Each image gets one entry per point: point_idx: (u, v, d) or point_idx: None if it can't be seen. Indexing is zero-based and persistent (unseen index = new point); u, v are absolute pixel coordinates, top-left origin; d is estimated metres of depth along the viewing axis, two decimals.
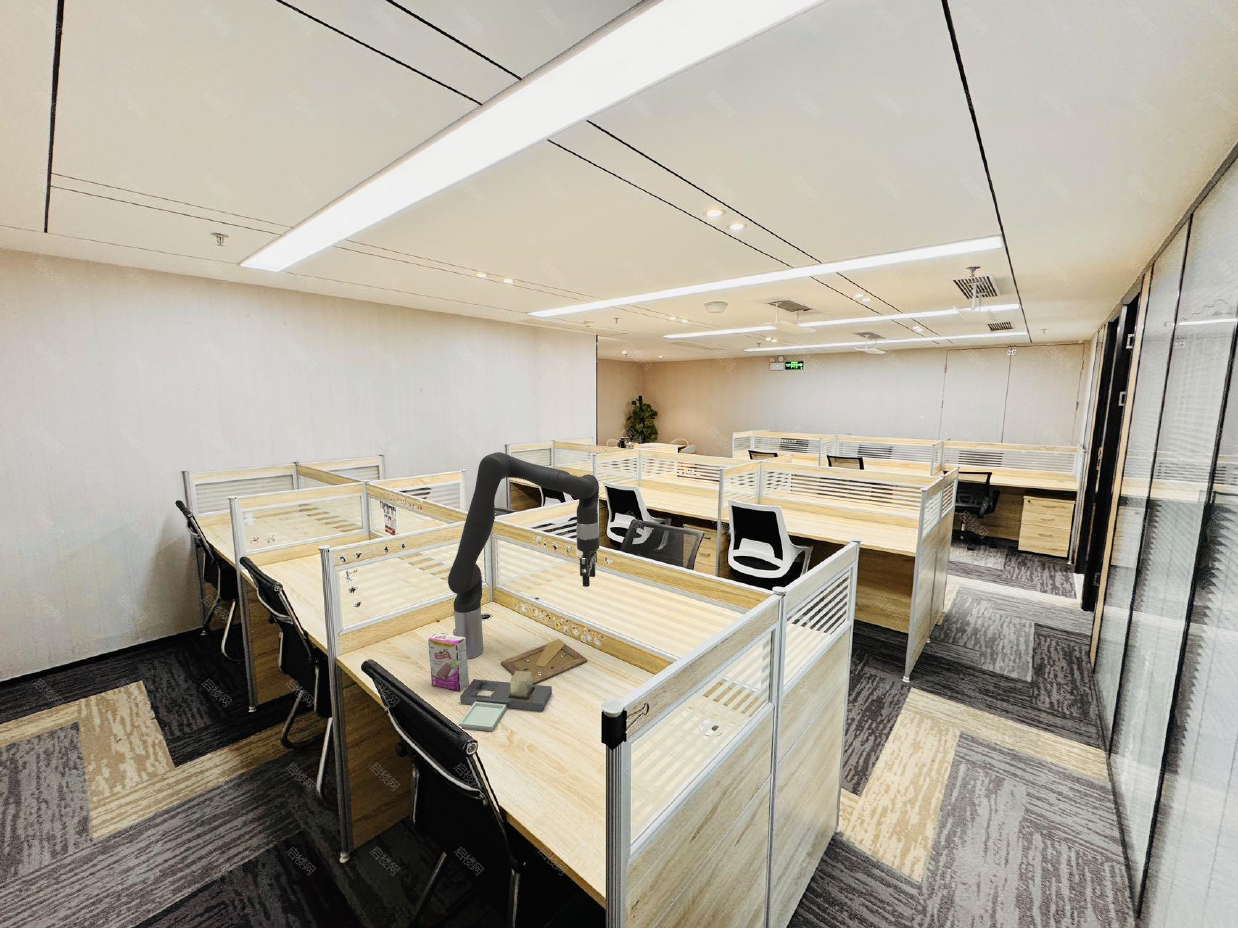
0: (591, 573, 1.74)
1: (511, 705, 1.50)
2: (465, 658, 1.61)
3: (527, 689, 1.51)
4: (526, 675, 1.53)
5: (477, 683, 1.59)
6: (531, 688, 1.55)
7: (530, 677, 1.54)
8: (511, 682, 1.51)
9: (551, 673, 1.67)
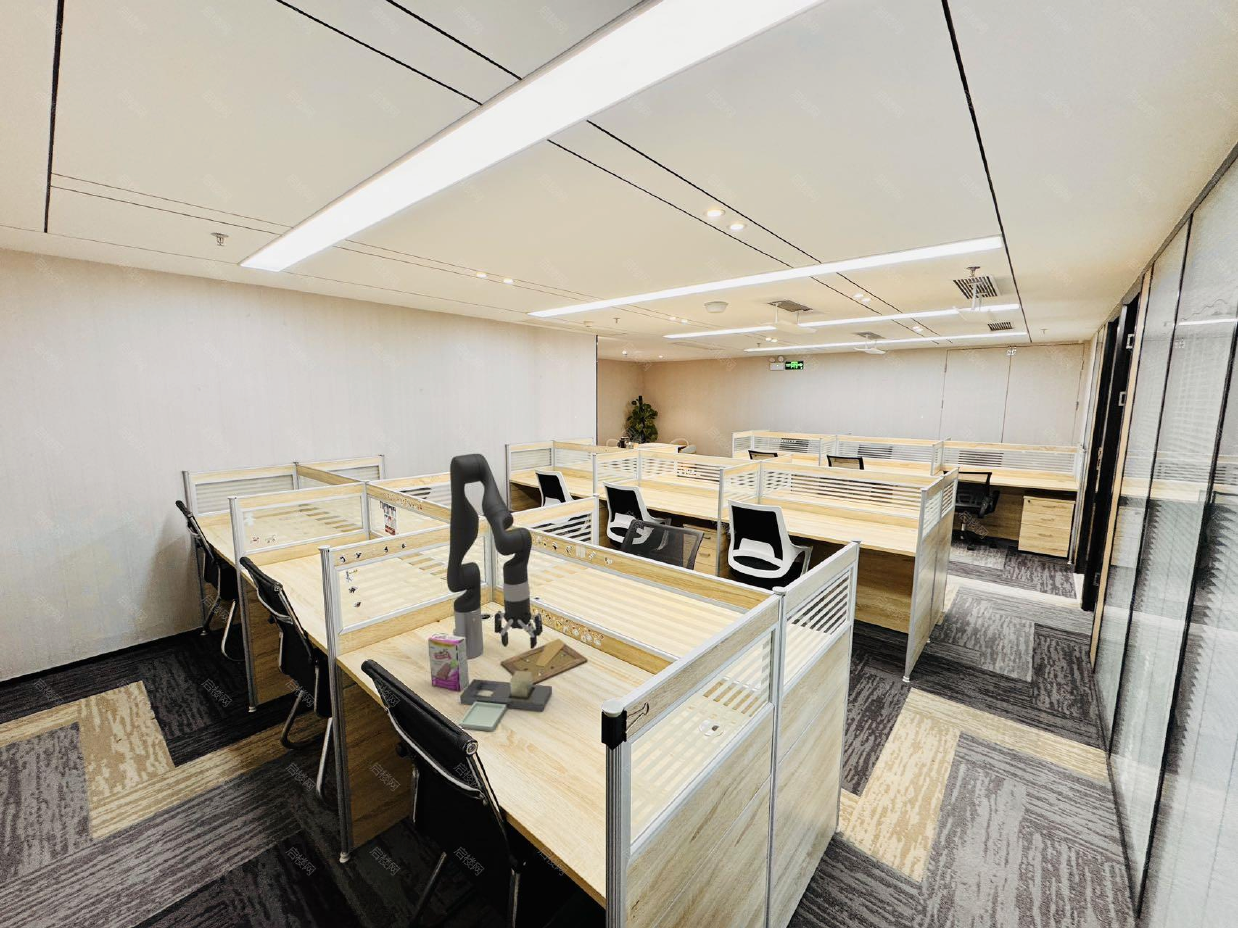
0: (506, 641, 1.52)
1: (511, 705, 1.50)
2: (465, 658, 1.61)
3: (527, 689, 1.51)
4: (526, 675, 1.53)
5: (477, 683, 1.59)
6: (531, 688, 1.55)
7: (530, 677, 1.54)
8: (511, 682, 1.51)
9: (551, 673, 1.67)
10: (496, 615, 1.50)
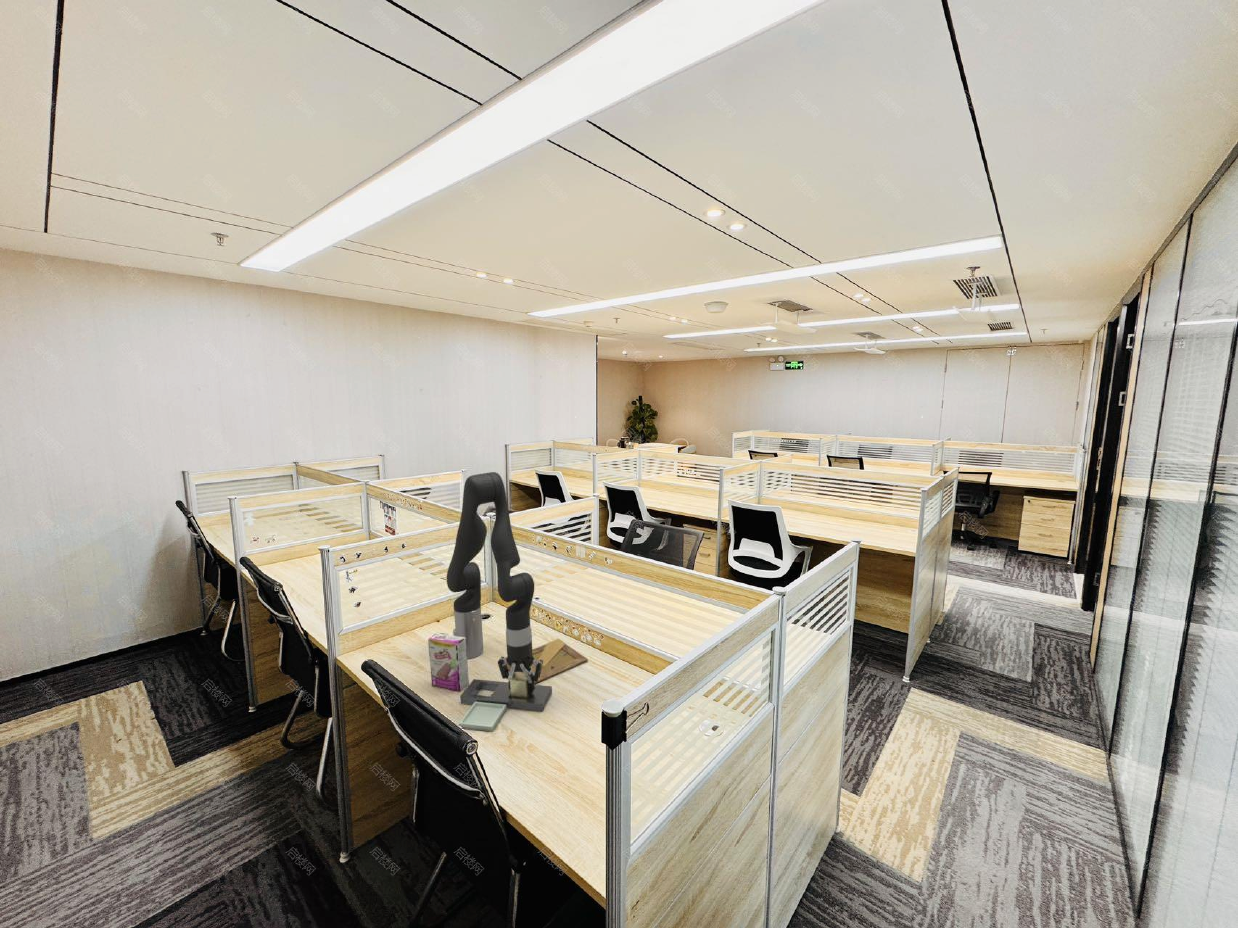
0: None
1: (511, 705, 1.50)
2: (465, 658, 1.61)
3: (526, 689, 1.51)
4: None
5: (477, 683, 1.59)
6: None
7: None
8: (511, 682, 1.51)
9: (551, 673, 1.67)
10: (499, 661, 1.53)
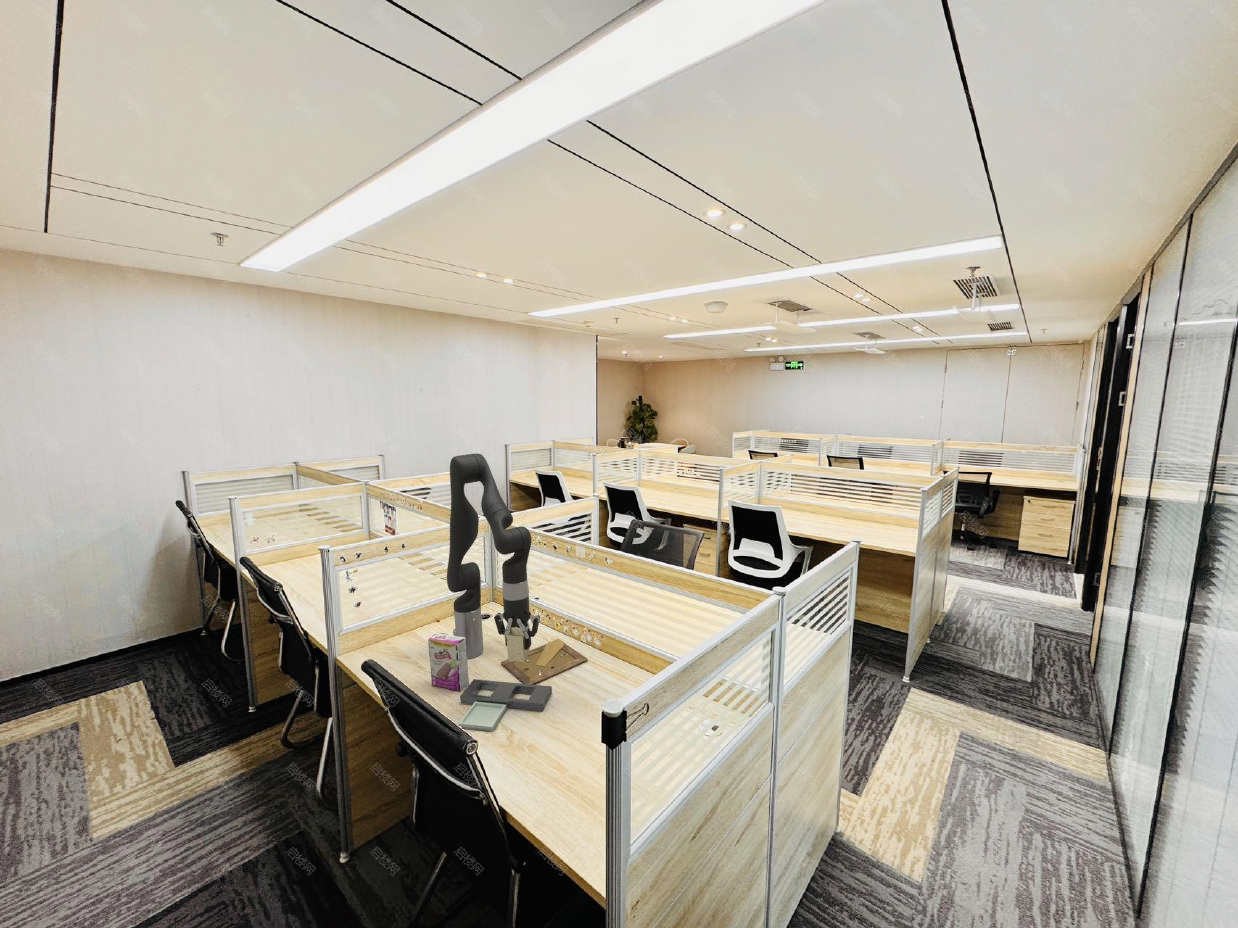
0: None
1: (511, 705, 1.50)
2: (465, 658, 1.61)
3: (523, 645, 1.49)
4: None
5: (477, 683, 1.59)
6: None
7: None
8: (508, 637, 1.49)
9: (552, 673, 1.67)
10: (495, 617, 1.50)
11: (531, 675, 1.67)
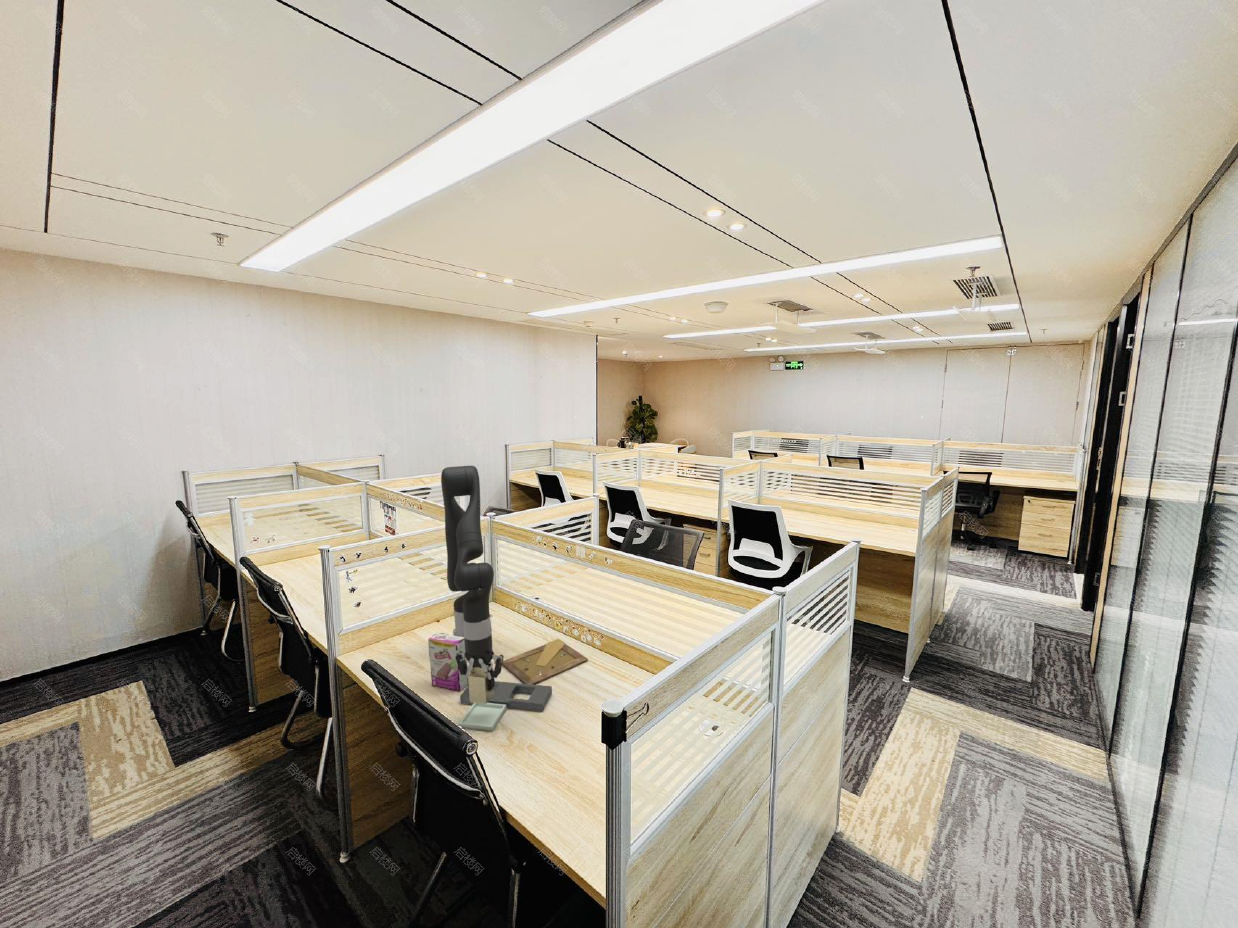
0: None
1: (511, 705, 1.50)
2: (465, 658, 1.61)
3: (486, 686, 1.42)
4: None
5: None
6: None
7: None
8: (469, 678, 1.42)
9: (552, 673, 1.67)
10: (457, 656, 1.43)
11: (531, 675, 1.67)
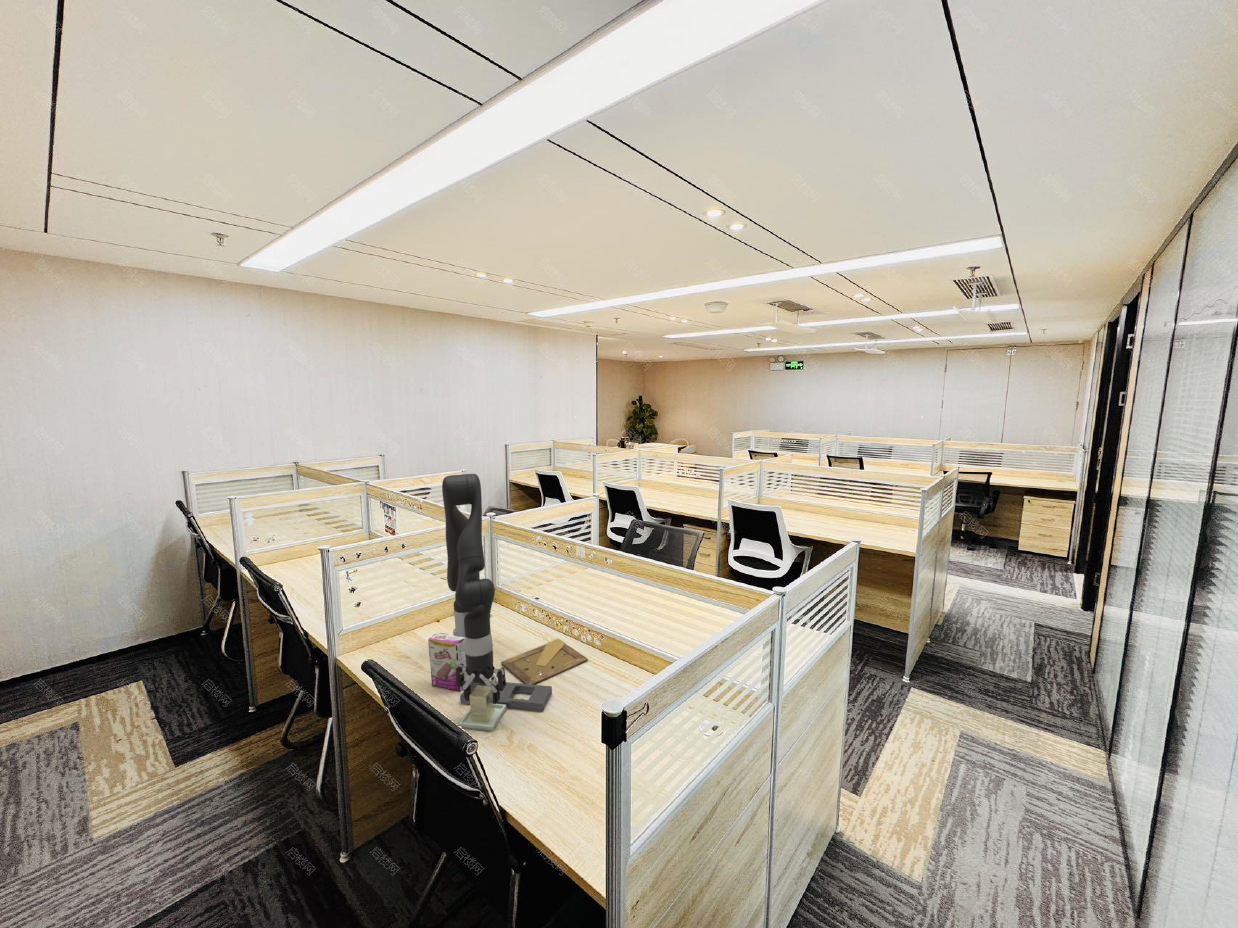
0: None
1: (511, 705, 1.50)
2: (465, 658, 1.61)
3: (487, 705, 1.43)
4: (487, 690, 1.45)
5: (477, 683, 1.59)
6: None
7: (491, 692, 1.46)
8: (470, 698, 1.43)
9: (552, 673, 1.67)
10: (457, 669, 1.44)
11: (531, 675, 1.67)
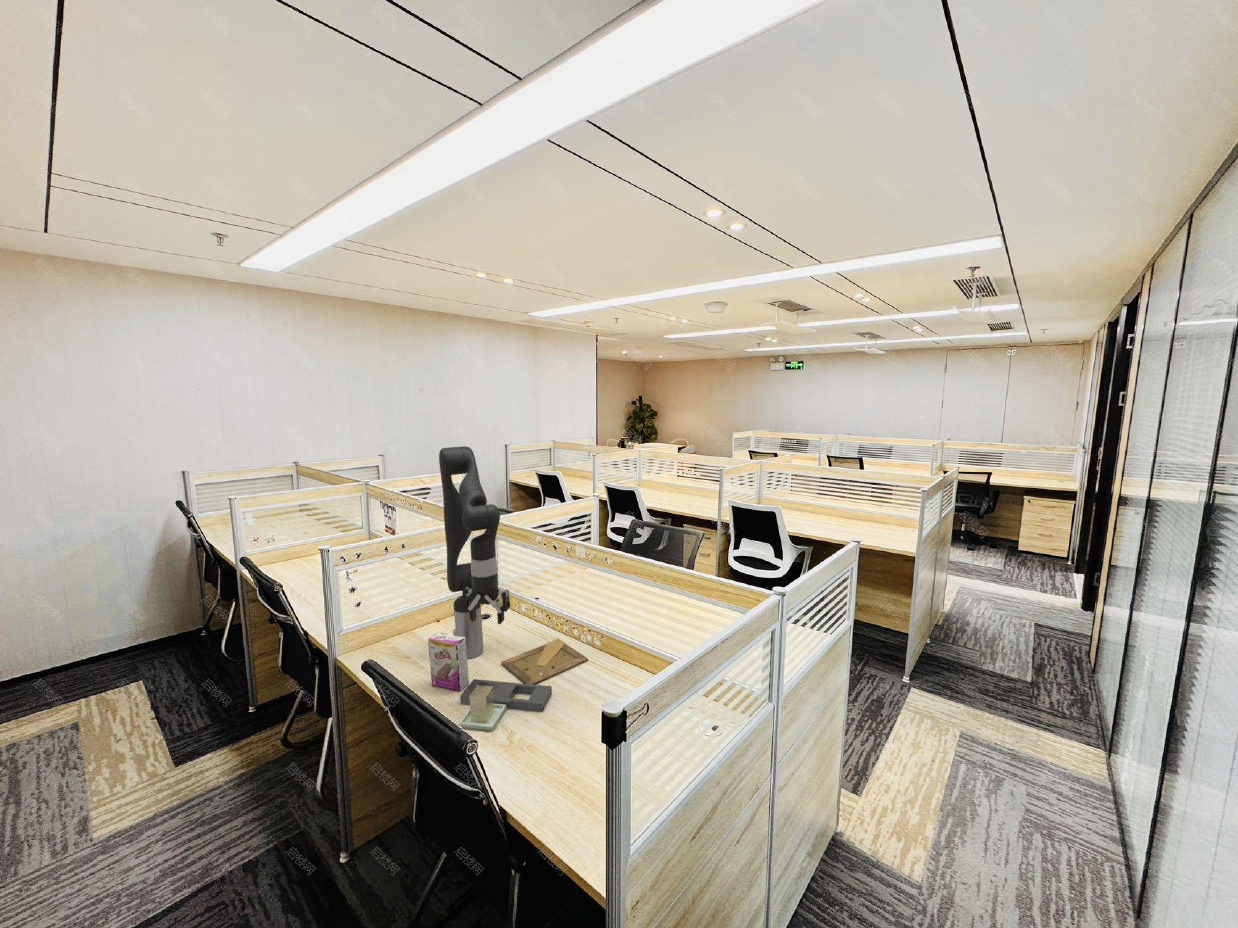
0: (474, 616, 1.53)
1: (511, 705, 1.50)
2: (465, 658, 1.61)
3: (487, 705, 1.43)
4: (487, 690, 1.45)
5: (477, 683, 1.59)
6: (493, 703, 1.47)
7: (491, 692, 1.46)
8: (470, 698, 1.43)
9: (552, 672, 1.67)
10: (464, 590, 1.51)
11: (532, 675, 1.67)
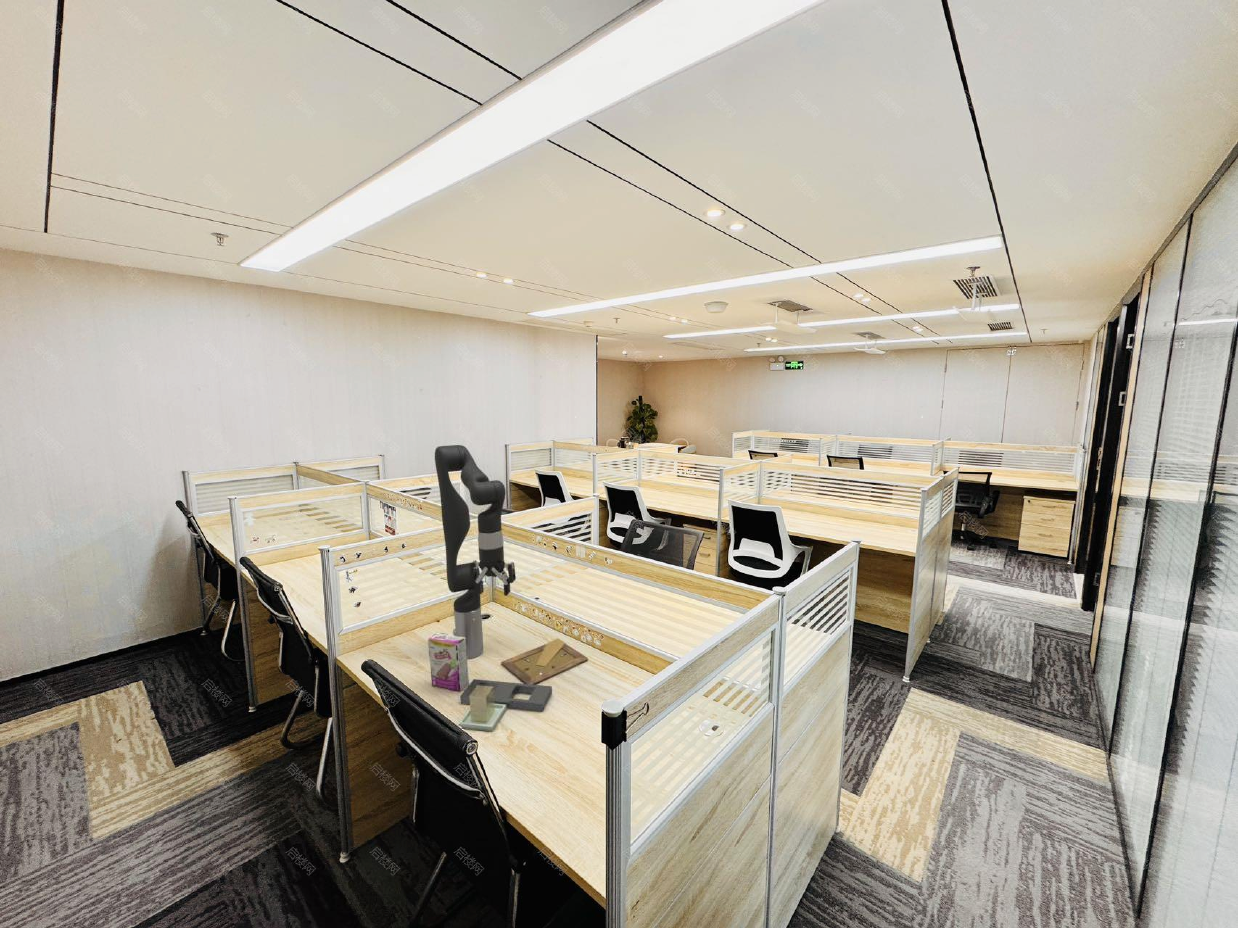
0: (481, 589, 1.60)
1: (511, 705, 1.50)
2: (465, 658, 1.61)
3: (487, 705, 1.43)
4: (487, 690, 1.45)
5: (477, 683, 1.59)
6: (493, 703, 1.47)
7: (491, 692, 1.46)
8: (470, 698, 1.43)
9: (552, 672, 1.67)
10: (471, 564, 1.58)
11: (532, 675, 1.67)
